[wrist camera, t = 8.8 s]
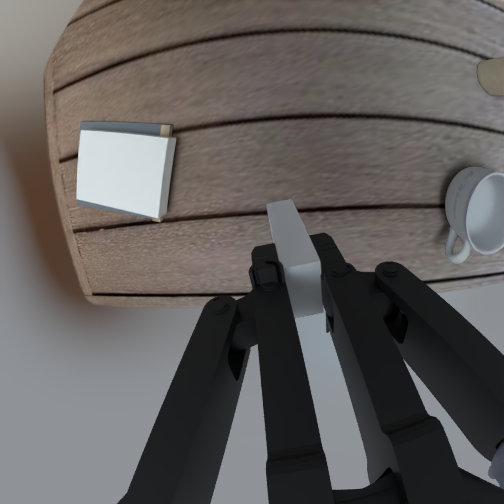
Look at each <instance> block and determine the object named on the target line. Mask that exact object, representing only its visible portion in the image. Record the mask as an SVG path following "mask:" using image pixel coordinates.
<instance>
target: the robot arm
mask: <svg viewBox="0 0 504 504" xmlns="http://www.w3.org/2000/svg"><path fill="white" fill-rule="evenodd" d="M266 207H267V212H268V217H269V223H270V228H271V233H272V239H273V243H272V244H267V245H262V246H257V247H255V248H254V249H253V251H252V253H251V255H252V266H251V267H250V269H249V276H250V280H251V284H252V288H253V289H252V291H251V292H250V293H249V294H248V295H246V296H244V297H243V298H240V299H238V300H235V299H234V298H232V297H231V296H218V297H215V298H213V299H211V300H210V301H209V302H207V304H206V305H205V306H204V308H203V311H202V313H201V316H200V318H199V320H198V322H197V324H196V327H195V329H194V331H193V333H192V336H191V338H190V340H189V343H188V345H187V347H186V350H185V352H184V354H183V357H182V359H181V361H180V364H179V366H178V368H177V371H176V373H175V376H174V378H173V380H172V383H171V385H170V388H169V390H168V392H167V395H166V397H165V400H164V402H163V404H162V407H161V409H160V411H159V414H158V416H157V419H156V421H155V424H154V426H153V429H152V431H151V433H150V436H149V438H148V441H147V444H146V446H145V448H144V451H143V453H142V456H141V459H140V461H139V463H138V466H137V469H136V471H135V474H134V476H133V479H132V481H131V484H130V486H129V489H128V492H127V493H126V494H125V496H124V497H123V498H122V499H121V500H120V501H119V502H118V503H117V504H210V503H211V499H212V496H213V492H214V488H215V484H216V481H217V478H218V474H219V470H220V466H221V463H222V459H223V455H224V452H225V448H226V444H227V441H228V437H229V433H230V429H231V425H232V422H233V418H234V414H235V410H236V406H237V402H238V398H239V395H240V391H241V387H242V383H243V379H244V375H245V371H246V367H247V362H248V359H249V354H250V347H252V346H254V345H256V344H258V351H259V364H260V375H261V387H262V396H263V409H264V419H265V431H266V441H267V454H268V459H267V462H266V477H267V488H268V500H269V504H504V355H503V354H502V353H501V352H500V351H499V350H498V349H497V348H496V347H495V346H494V345H493V344H492V343H490V341H489V340H487V339H486V338H485V337H484V336H483V335H482V334H481V333H480V332H479V331H478V330H477V329H476V328H475V327H474V326H473V325H472V324H471V323H469V322H468V321H467V320H466V319H465V318H464V317H463V316H462V315H461V314H460V313H459V312H457V311H456V310H455V309H454V308H453V307H452V306H451V305H450V304H448V303H447V302H446V301H445V300H444V299H443V298H441V297H440V296H439V295H438V294H437V293H436V292H434V291H433V290H432V289H431V288H430V287H429V286H427V285H426V284H425V283H424V282H423V281H421V280H420V279H419V278H418V277H416V276H415V275H414V274H413V273H411V272H410V271H409V270H408V269H407V268H405V267H404V266H403V265H401V264H399V263H396V262H383V263H380V264H379V265H377V267H376V268H375V272H360V271H356V269H355V267H354V266H353V265H351V264H349V263H346V262H345V260H344V258H343V256H342V254H341V253H340V251H339V249H338V248H337V246H336V244H335V242H334V241H333V239H332V237H331V236H329V235H328V234H326V233H320V234H315V235H308V233H307V230H306V228H305V226H304V224H303V222H302V220H301V218H300V216H299V213H298V211H297V209H296V207H295V205H294V203H293V201H292V199H289V200H283V201H278V202H273V203H267V204H266ZM323 305H324V308H325V311H326V332H327V333H328V332H329V331H330V334H331V337H332V340H333V343H334V346H335V349H336V352H337V356H338V359H339V362H340V365H341V368H342V371H343V375H344V378H345V382H346V385H347V388H348V392H349V395H350V398H351V402H352V405H353V409H354V412H355V415H356V419H357V423H358V426H359V430H360V433H361V438H362V441H363V445H364V449H365V453H366V456H367V471H368V478H369V482H370V485H369V486H367V487H365V488H362V489H348V490H332V487H331V482H330V476H329V471H328V466H327V462H326V457H325V453H324V451H323V448H322V443H321V438H320V433H319V428H318V423H317V418H316V414H315V409H314V404H313V399H312V395H311V390H310V386H309V381H308V376H307V372H306V367H305V362H304V358H303V353H302V349H301V345H300V340H299V336H298V331H297V327H296V323H295V318H299V317H304V316H309V315H314V314H318V313H323V312H324V311H323ZM403 359H404V360H405V361H406V363H407V364H408V365H409V366H410V367H411V369H412V370H413V371H414V372H415V373H416V375H417V376H418V377H419V378H420V379H421V380H422V382H423V383H424V384H425V385H426V387H427V388H428V389H429V390H430V392H431V393H432V394H433V395H434V397H435V398H436V399H437V400H438V402H439V403H440V404H441V405H442V407H443V408H444V409H445V410H446V411H447V413H448V414H449V415H450V417H451V418H452V419H453V421H454V422H455V423H456V424H457V426H458V427H459V428H460V430H461V431H462V432H463V434H464V435H465V436H466V438H467V439H468V440H469V442H470V443H471V444H472V445H473V446H474V448H475V449H476V450H477V451H478V452H479V453H480V454H482V455H483V456H484V457H485V458H486V459H488V460H489V461H491V462H492V463H491V466H490V468H489V470H488V475H489V477H490V478H492V479H496V480H497V481H498V483H499V485H500V487H497V486H495V485H493V484H491V483H489V482H487V481H485V480H483V479H481V478H479V477H477V476H475V475H473V474H471V473H469V472H467V471H465V470H463V469H461V468H460V467H458V465H457V462H456V460H455V457H454V454H453V452H452V449H451V446H450V444H449V441H448V438H447V436H446V433H445V431H444V428H443V426H442V424H441V423H440V421H439V420H438V419H437V418H436V417H433V416H430V415H429V414H428V413H427V411H426V410H425V407H424V405H423V402H422V400H421V398H420V395H419V393H418V391H417V389H416V386H415V384H414V382H413V380H412V377H411V375H410V373H409V371H408V369H407V367H406V364H405V362H404V360H403Z"/></svg>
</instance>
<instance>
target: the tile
mask: <svg viewBox="0 0 504 504" xmlns="http://www.w3.org/2000/svg"><path fill="white" fill-rule="evenodd" d="M175 145H176V138H174V137H167V136H159V135H151V134H142V133H132V132H122V131H110V130H95V129H89V130H81V133H80V143H79V155H78V171H77V199H78V200H83V201H87V202H91V203H95V204H100V205H104V206H108V207H112V208H117V209H121V210H125V211H129V212H134V213H138V214H142V215H146V216H150V217H154V218H160V217H161V216H163V215H164V214H166V213H167V204H168V195H169V187H170V179H171V171H172V164H173V157H174V151H175Z"/></svg>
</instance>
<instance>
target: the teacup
mask: <svg viewBox="0 0 504 504" xmlns="http://www.w3.org/2000/svg"><path fill="white" fill-rule="evenodd" d="M445 211H446V217H447V220H448V222H449V224H450V228H449V236H448V239H447V242H446V247H445V254H446V256H447V258H448V259H449V260H450V261H451V262H453V263H456V264H458V263H461V262H463V261H464V260H465V259H466V258H467V257H468V255H469V253H470V249H471V246H472V247H473V248H474V249H475V250H476V251H477V252H479V253H481V254H492V253H495V252H497V251H498V250H500V249H501V248H502V247H503V246H504V173H502V172H496V171H493V170H490V169H486V168H482V167H468V168H465V169H463V170H462V171H460V172H459V173H458V174H457V175H456V176H455V177H454V178H453V180H452V181H451V183H450V185H449V187H448V190H447V193H446V199H445ZM458 236H459V237H460V238H461V241H462V243H463V246H462V249H461V250H460V251H459V252H458V253H457V254H453V248H454V244H455V241H456V239H457V237H458Z"/></svg>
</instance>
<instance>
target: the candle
mask: <svg viewBox="0 0 504 504" xmlns="http://www.w3.org/2000/svg"><path fill="white" fill-rule="evenodd" d="M477 76H478V79H479V82H480V84H481V86H482V87H483V89H484V90H485V91H486V92H487V93H488V94H490V95H494V96H502V95H504V57H500V58H495V59H490V60H486V61H483V62H481V63H480V64H479V65H478V68H477Z"/></svg>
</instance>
